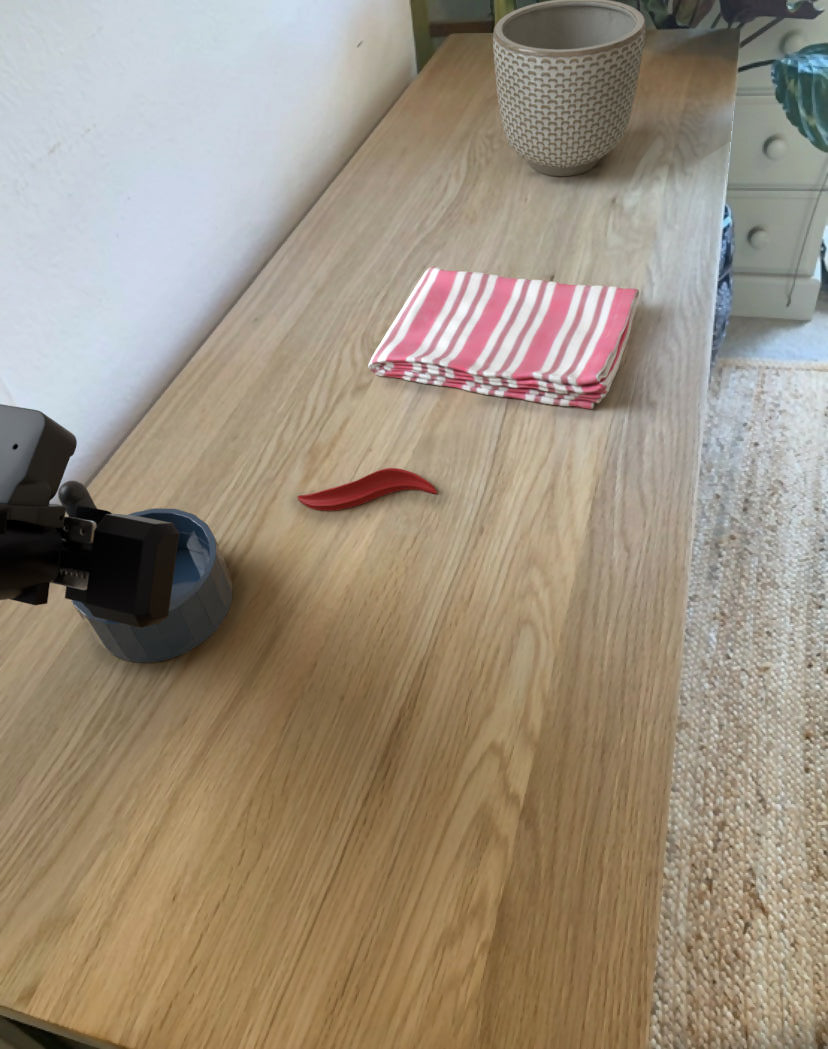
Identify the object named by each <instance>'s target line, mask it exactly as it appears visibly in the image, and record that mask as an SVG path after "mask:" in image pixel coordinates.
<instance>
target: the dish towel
mask: <svg viewBox="0 0 828 1049" xmlns="http://www.w3.org/2000/svg"><path fill="white" fill-rule="evenodd" d="M639 296H640V290H639V289H638V288H622V287H619V286H614V285H610V286H609V285H601V284H598V285H597V284H596V285H589V284H588V285H587V284H567V283H560V282H557V281H553V280H551V281H550V280H549V281H548V280H543V279H534V278H532V279H528V278H512V277H506V276H500V275H497V274H492V273H484V272H479V271H465V270H464V271H463V270H446V269H442V268H441V267H439V266H430V267H429V268H428V269H426V270H425V272H424V273H423V275H422V276H421V278H420V279H419V281H418V282H417V283H416V285H415V287H414V289H413V290H412V292H410V295H409V297H408V298H407V299H406V301H405V303H404V305H403V306H402V308H401V309H400V311H399V312H398V314H397V315H396V317H395V319H394V321H393V322H392V324H391V325H390V327H389V328H388V330H386V333H385V334H384V337H383V338H382V340H381V342H380V343H379V345H378V346H377V348H376V349H375V351H374V353H373V354H372V357H371V358H370V361H369V362H368V365H367V367H368V369H369V370H370V371H371V372H372V373H373V374H374V375H376V376H379V377H389V378H397V379H401V380H405V381H409V382H415V383H419V384H424V385H434V386H439V387H449V388H457V389H459V390H463V391H466V392H472V393H478V394H480V395H486V396H495V397H499V398H513V399H518V400H524V401H527V402H532V403H540V404H545V405H551V406H560V407H578V408H582V409H586V410H588V409H589V410H593V409H594V408H595V404H600V403H601V402H602V400H603V398H606V397H607V395H608V392H610V389H611V386H612V384H613V381H614V378H615V377H616V375H617V372H618V370H619V367H620V365H621V361H622V357H623V354H624V351H625V348H626V345H627V343H628V340H629V338H630V337H629V336H630V334H631V330H632V326H633V321H634V317H635V314H636V308H637V303H638V299H639Z"/></svg>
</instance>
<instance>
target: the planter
mask: <svg viewBox="0 0 828 1049" xmlns="http://www.w3.org/2000/svg"><path fill="white" fill-rule="evenodd" d="M645 36H646V19H645V17H644V15H643V14H642V13H641V12H640V11H639V10H638V9H636V8H635V7H634V6H631V5H629V4H626V3H623V2H620V1H615V0H545V1H541V2H536V3H532V4H529V5H526V6H523V7H520V8H517V9H515V10H513V11H510V12H509V13H507V14H506V15H503V17H502V18H500V19H499V20H498V21H497V22H496V24H494V28H493V34H492V46H493V48H492V49H493V52H492V53H493V63H494V72H495V73H494V74H495V86H496V95H497V102H498V103H497V104H498V110H499V117H500V122H501V127H502V131H503V134H504V137H505V139H506V142H507V144H508V145H509V147H510V148H511V149H512V150H513V151H514V152H515V153H516V154H517V155H518V156H519V157H521V158H522V159H523V160H526V161H527V162H528V164H529V166H530V167H531V168H532V169H533V170H535V171H536V172H537V173H539V174H542V175H546V176H550V177H551V176H552V177H571V176H576V175H580V174H583V173H586V172H588V171H590V170H592V169H593V168H594V167H595V166H596V165H597V164H598V162H600V159H601V158H603V157H604V156H606V155H608V154H609V153H610V152H612V151H613V150H614V149H615V148H616V147H617V146H618V145H619V144H620V142H621V141H622V139H623V138H624V136H625V133H626V131H627V128H628V125H629V123H630V120H631V116H632V112H633V107H634V103H635V97H636V94H637V89H638V83H639V78H640V72H641V66H642V59H643V52H644V45H645V39H646V37H645Z"/></svg>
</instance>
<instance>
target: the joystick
mask: <svg viewBox="0 0 828 1049" xmlns="http://www.w3.org/2000/svg"><path fill="white" fill-rule="evenodd" d="M57 497H58V500H59V502H60V505H63V506H66V510H65V513H66V514H67V517H75V511H76V505H80V506H85V507H91V508H96V509H98V508H97V506H96V503H95V502H94V500H93V498H92V495H91V494H90V493H89V491H88V489H87V487H86V486H85V485H84V484H83V483H82V482H80V481H77V480H68V481H65V482H63V483H61V484H60V486H59V488H58V491H57Z"/></svg>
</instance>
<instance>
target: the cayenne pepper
mask: <svg viewBox="0 0 828 1049" xmlns="http://www.w3.org/2000/svg"><path fill="white" fill-rule="evenodd" d="M406 490H407V491H409V490H416V491H421V492H426V493H430V494H433V495H438V492H437V489H436V488H435V487H434V485H433V484H432V483H431V482H429V481H428V480H426V478H424V477H422V476H420V475H419V474H416V473H414V472H412V471H409V470H406V469H402V468H397V467H387V468H383V469H379V470H377V471H374V472H372V473H370V474H367V475H365V476H363V477H361V478H359V479H357V480H354V481H351V482H348V483H345V484H342V485H338V486H335V487H331V488H327V489H323V490H321V491H317V492H313V493H309V494H300V495H298V496H296V497H297V500H298V501H299V502H300V503H301V504H303V505H304V506H306V507H307V508H309V509H312V510H316V511H326V512H329V511H330V512H332V511H341V510H345V509H351V508H354V507H358V506H360V505H363V504H365V503H368V502H370V501H372V500H374V499H378V498H380V497H383V496H386V495H388V494H392V493H394V492H399V491H406Z"/></svg>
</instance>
